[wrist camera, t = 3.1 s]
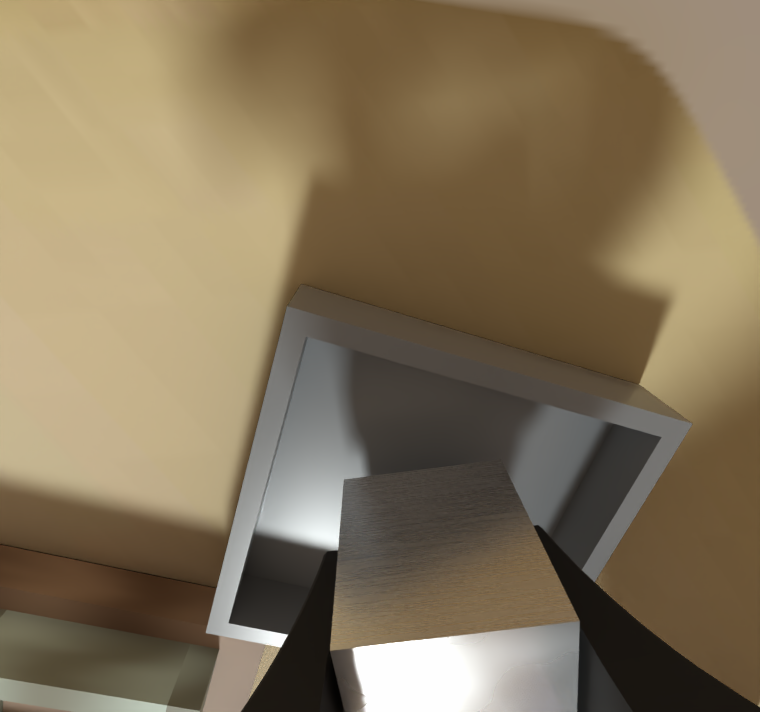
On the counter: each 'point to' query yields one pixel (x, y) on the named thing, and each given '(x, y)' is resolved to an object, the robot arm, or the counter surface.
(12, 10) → the counter surface
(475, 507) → the block
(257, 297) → the counter surface
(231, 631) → the gray square tray
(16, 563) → the double pocket tray
